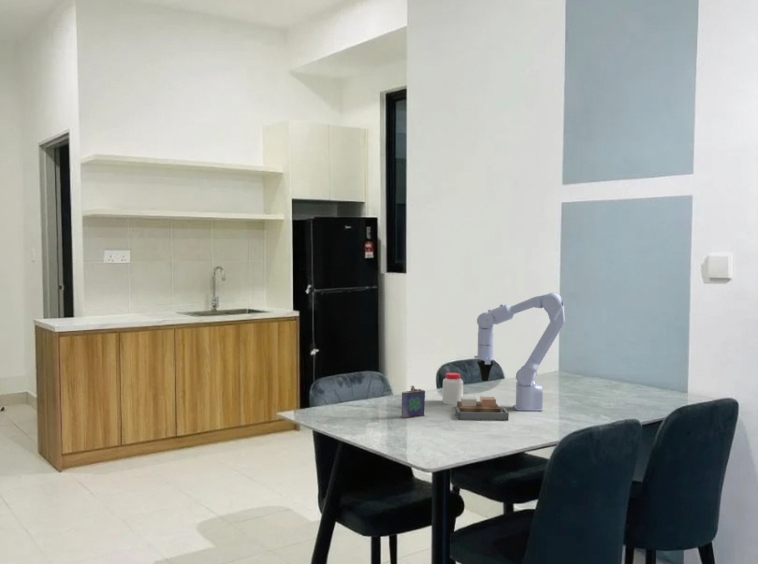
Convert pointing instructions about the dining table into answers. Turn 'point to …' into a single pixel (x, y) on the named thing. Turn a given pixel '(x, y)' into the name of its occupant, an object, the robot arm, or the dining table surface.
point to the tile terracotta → (488, 401)
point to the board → (478, 408)
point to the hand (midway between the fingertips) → (484, 380)
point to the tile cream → (468, 401)
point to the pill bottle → (452, 388)
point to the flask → (413, 403)
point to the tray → (482, 415)
